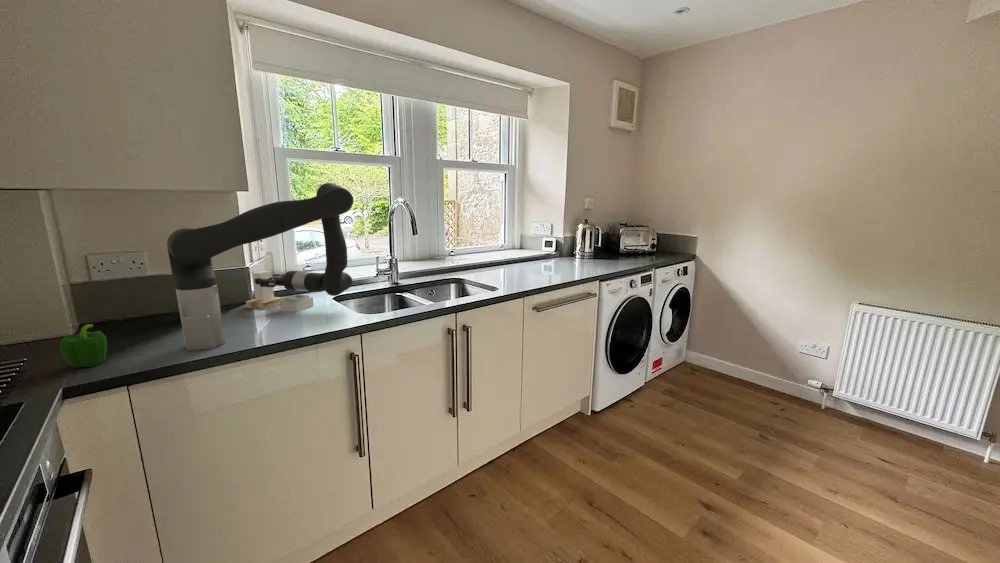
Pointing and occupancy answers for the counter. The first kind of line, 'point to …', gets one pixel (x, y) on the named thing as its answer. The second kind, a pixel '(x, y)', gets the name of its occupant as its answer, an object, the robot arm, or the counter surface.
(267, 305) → the wooden slatted coaster
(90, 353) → the bell pepper
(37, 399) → the counter surface
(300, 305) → the beige rectangular block
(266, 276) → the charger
